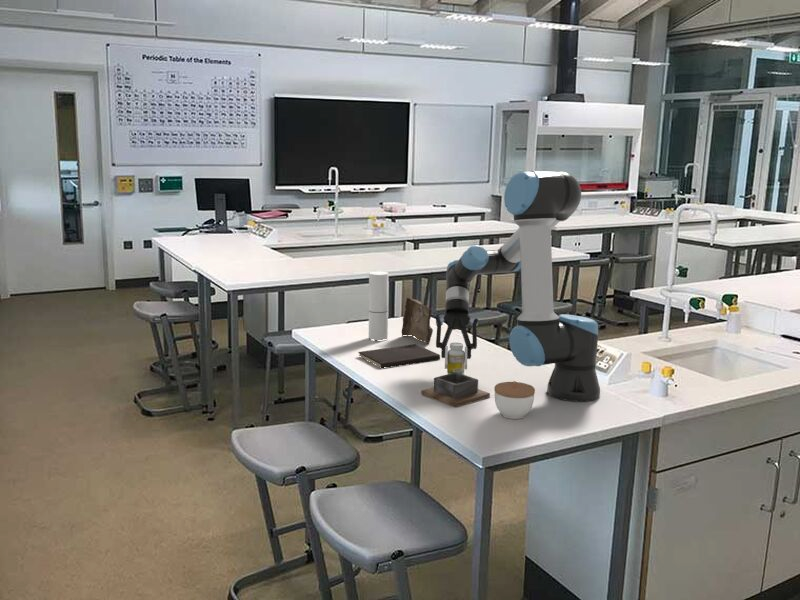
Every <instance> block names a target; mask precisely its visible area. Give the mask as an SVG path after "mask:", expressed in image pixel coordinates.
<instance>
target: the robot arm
mask: <svg viewBox="0 0 800 600" xmlns="http://www.w3.org/2000/svg"><path fill="white" fill-rule="evenodd" d="M505 186H506V187H505V190H504V193H503V195H504V196H503V200H504V201H503V203H504V206H505V208H506V211H507V212H508V213H510V214H511V215H513V222H514V223H515V224H516V225H517V226H518V228H517V230H516V231H514V233H513V234H512V235H511V236H510V237H509V238H508V239H507V240H506V241H505V242H504V243H503V245H501V246H500V248H498V249H493V250H490V249H488V250H486V248H484V247H483V246H479V245H478V244H477V245H476V244H475V245H471V246H469V247H468V248H467V249H466V250H465V251H464V252H463V253H462V255H461V256H460V258H459V259H455V260H453V261H450V262H448V264H447V267H446V271H445V279H446V281H445V283H446V285H445V286H446V287H445V289H446V290H445V314H444V316H443V317H441V318H440V317H439V316H438V317H436V318H435V325H436V337H435V347H436V348H437V349H441V355H440V358H441V359H444V369H445V370H447V358H448V351H449V347H448V342H449V341H450V337H451V334H452V332H453V331H454V330H456V331H457V330H458V331H460V332H461V334H462V335H461V336H462V337H463V341H464V344H465V346H464V352H465V362H464V370H468V360H471V358H472V350H476V349H477V348H478V338H477V337H478V335H477V334H478V333H477V329H478V325H479V319H478V318H474V319H473V318H471V317H470V305H469V304H470V303H469V302H470V283H471V282H472V281H473V280H474V279H475V277H477V275H487V274H500V273H501V274H502V273H504V274H505V273H508V274H510V273H514V272H517V271H520V278H521V279H520V281H521V303H522V304H521V305H522V306H521V307H522V309H521V310H522V312H521V314H519V316H518V317H517V325H516V326H513V328H512V329H511V330H510V333H509V336H508V337H509V338H508V341H509V342H508V343H509V348H510V350H511V353H512V355H513V357H515V359H516V361H517V362H518V363H520V364H521V365H522V366H525V367H541V366H544V365H545V366H546V365H553V364H554V367H553V370H552V373H551V374H550V377H549V379H548V382H547V388H546V389H547V390H546V392H547V394H548V395H550V396H552V397H553V396H554V398H555V399H559V400H563V401H570V402H590V401H594V400H597V399H599V398H600V397H601V396H600V395H601V386H600V383H599V380H598V375H597V370H596V366H597V353H598V351H597V350H598V340H599V339H598V338H599V323H598V322H597V321H596V320H594V319H592V318H589V317H587V316H586V317H585V316H581V315H575V314H563V313H562V314H559V315H558V314H556V313H555V311H554V288H553V285H554V283H553V259H552V258H553V257H552V256H553V253H552V230H553V229H554V228H555V227H556V226H557V225H558V224H559V223H560V222H564V221H567V220H569V218H570V217H571V216H572V215H573V214H574V213H575V212H576V210H577V208H578V207H579V205H580V203H581V201H582V200H581V199H582V189H581V186H580V183H579V182H578V180H577V179H576V178H575V176H573V175H571V173H570V174H569V173H567V172H565V171H560V170H559V171H558V170H556V171H549V170H548V171H547V170H546V171H543V170H529V171H519V172H517V173H515V174H514V175H512V176H511V177H510V179H509V181H508V182H507V184H506V185H505ZM444 323H445V325H446V326H447V329H446V331H445V335H444V337H443V340H442V341H441V336H442V326H443V324H444ZM469 323H470V326H471V330H472V332H471V333H472V335H471V337H472V338H471V339H472V343H471V340H470V337H469V333H468V331H467V326H468V325H469Z"/></svg>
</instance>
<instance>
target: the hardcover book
mask: <svg viewBox="0 0 800 600" xmlns="http://www.w3.org/2000/svg"><path fill="white" fill-rule="evenodd" d="M358 354H359V355H358V357H359V356H361V357H362V358H364V359H366V360H368V361H370V362H372V363H374V364H376V365H377V366H379V367H381V368H383V369H385V368H384V367H389V368H392V367H391V366H396V367H400V366H399V365H402V366H407V365H406V364H409V365H414V364H413V363H415V364H421V363H420V362H422V363H427V362H428V363H429V362H433V361H440V360H441V355H440V354H439V353H437V352H435V351H432V350H431V349H428V348H426V347H424V346H421V345H418V344H416V343H415V344H413V343H412V344H406V345H398V346H391V347H385V348H378V349H377V348H376V349H371V350H363V351H358ZM362 358H361V359H362ZM364 359H363V360H364ZM366 360H365V361H366ZM368 361H367V362H368ZM370 362H369V363H370ZM372 363H371V364H372ZM374 364H373V365H374ZM376 365H375V366H376ZM377 366H376V367H377ZM379 367H378V368H379ZM381 368H380V369H381Z"/></svg>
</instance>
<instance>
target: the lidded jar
mask: <svg viewBox="0 0 800 600" xmlns="http://www.w3.org/2000/svg"><path fill="white" fill-rule="evenodd" d="M493 387H494V402H495V406H496V409H497V410H498V411H499V413H501V415H502V417H503V418H506V419H511V420H522V419H524V418H525V417H526V415H527V414H529V413H530V411H531V410H532V408H533V405H534V400H535V393H536V389H535V387H534V386H532V385H531V384H528V383H526V382H525V383H524V382H520V381H515V380H514V381H505V382H504V381H503V382H499V383H496V384H495V385H494V386H493Z"/></svg>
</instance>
